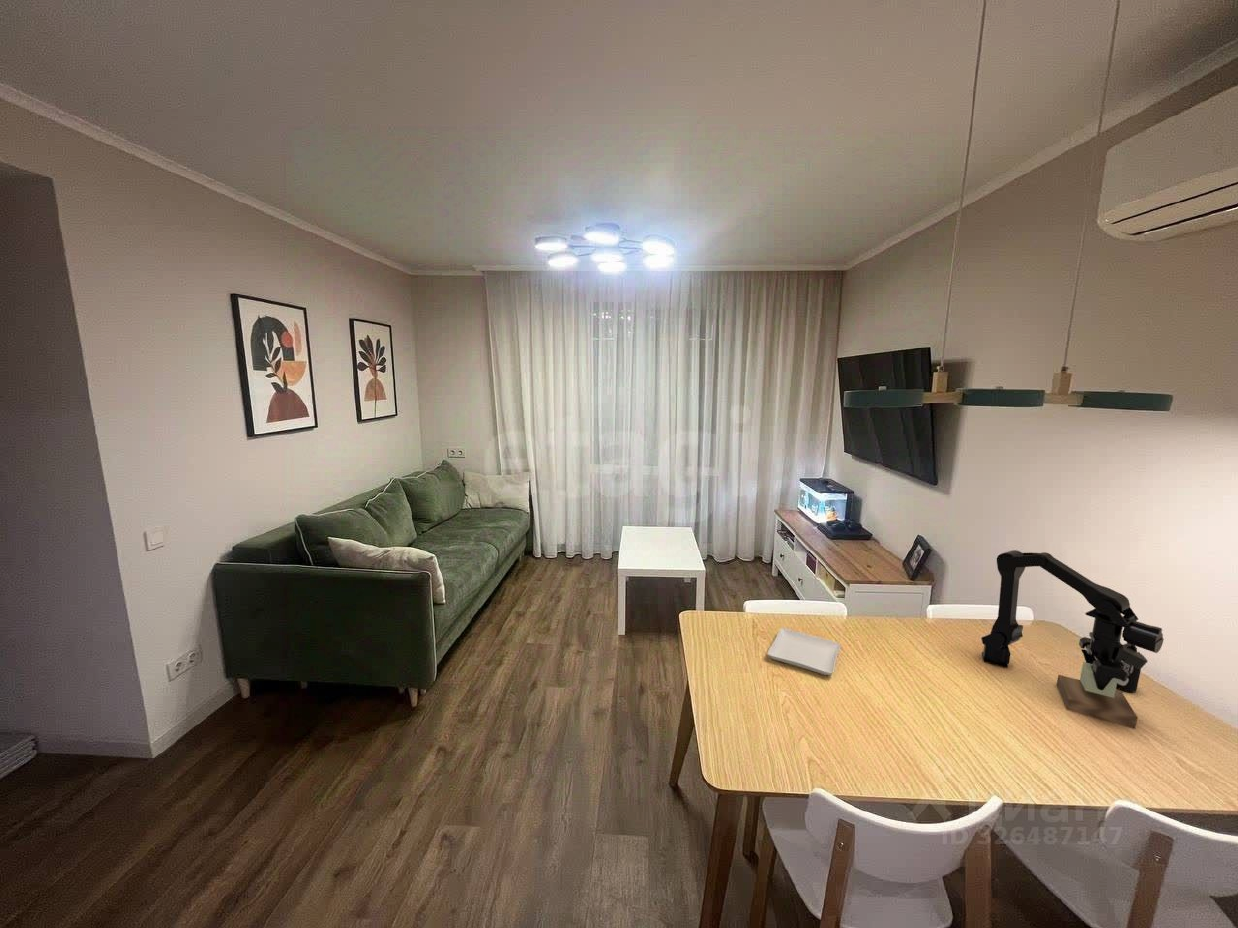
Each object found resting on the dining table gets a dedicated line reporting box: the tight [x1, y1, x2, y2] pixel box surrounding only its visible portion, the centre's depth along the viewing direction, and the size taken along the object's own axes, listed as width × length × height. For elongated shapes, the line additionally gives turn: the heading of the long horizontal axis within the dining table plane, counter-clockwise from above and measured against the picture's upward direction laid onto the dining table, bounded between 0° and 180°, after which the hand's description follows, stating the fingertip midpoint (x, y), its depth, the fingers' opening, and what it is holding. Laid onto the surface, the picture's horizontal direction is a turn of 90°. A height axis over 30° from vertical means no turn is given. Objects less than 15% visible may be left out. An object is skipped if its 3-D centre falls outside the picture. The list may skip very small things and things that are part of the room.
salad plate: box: [766, 627, 842, 676], centre depth 164 cm, size 21×21×3 cm
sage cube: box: [1079, 661, 1118, 698], centre depth 138 cm, size 6×6×6 cm
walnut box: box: [1056, 674, 1139, 730], centre depth 139 cm, size 14×14×4 cm
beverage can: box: [1113, 660, 1142, 693], centre depth 147 cm, size 7×7×12 cm
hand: (1096, 683), depth 138 cm, fingers closed on sage cube, 6 cm apart
